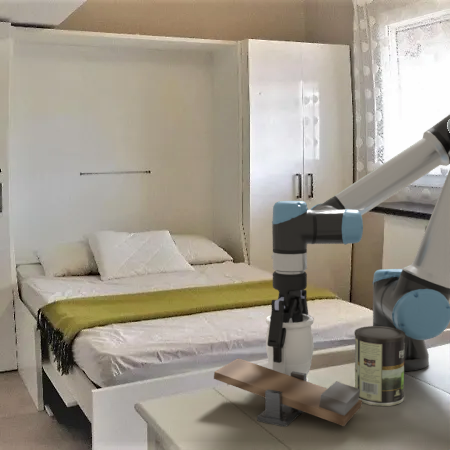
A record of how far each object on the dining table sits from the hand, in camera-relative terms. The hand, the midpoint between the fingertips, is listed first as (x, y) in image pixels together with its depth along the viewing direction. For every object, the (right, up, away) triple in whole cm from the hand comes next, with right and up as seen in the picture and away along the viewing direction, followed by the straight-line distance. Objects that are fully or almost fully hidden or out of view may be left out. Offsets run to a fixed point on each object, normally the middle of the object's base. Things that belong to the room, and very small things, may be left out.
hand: (289, 368), depth 145 cm
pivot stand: (-2, -5, -16) cm, 17 cm away
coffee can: (+18, -4, -9) cm, 20 cm away
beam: (-2, -1, -16) cm, 16 cm away
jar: (0, -4, 0) cm, 4 cm away
